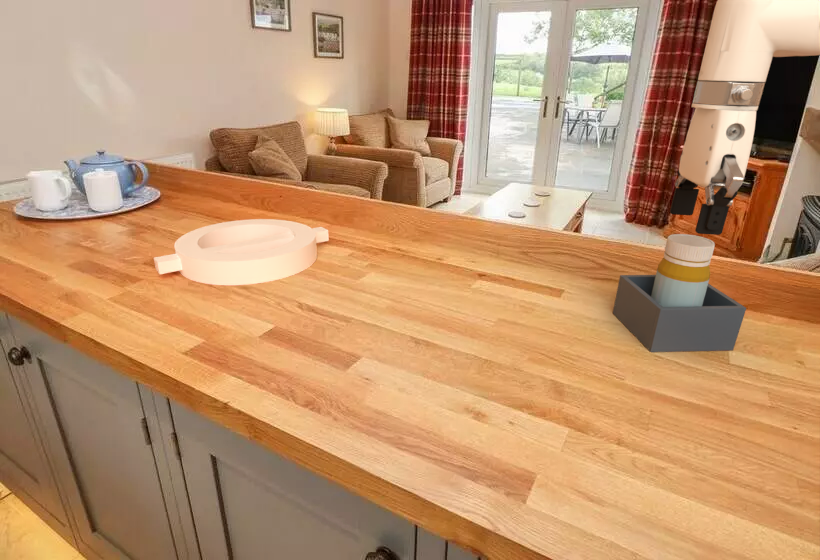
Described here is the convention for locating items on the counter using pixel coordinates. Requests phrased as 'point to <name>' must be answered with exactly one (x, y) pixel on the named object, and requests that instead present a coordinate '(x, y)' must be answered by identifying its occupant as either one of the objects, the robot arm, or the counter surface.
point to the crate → (677, 318)
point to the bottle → (683, 271)
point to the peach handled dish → (244, 252)
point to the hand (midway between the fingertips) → (693, 223)
